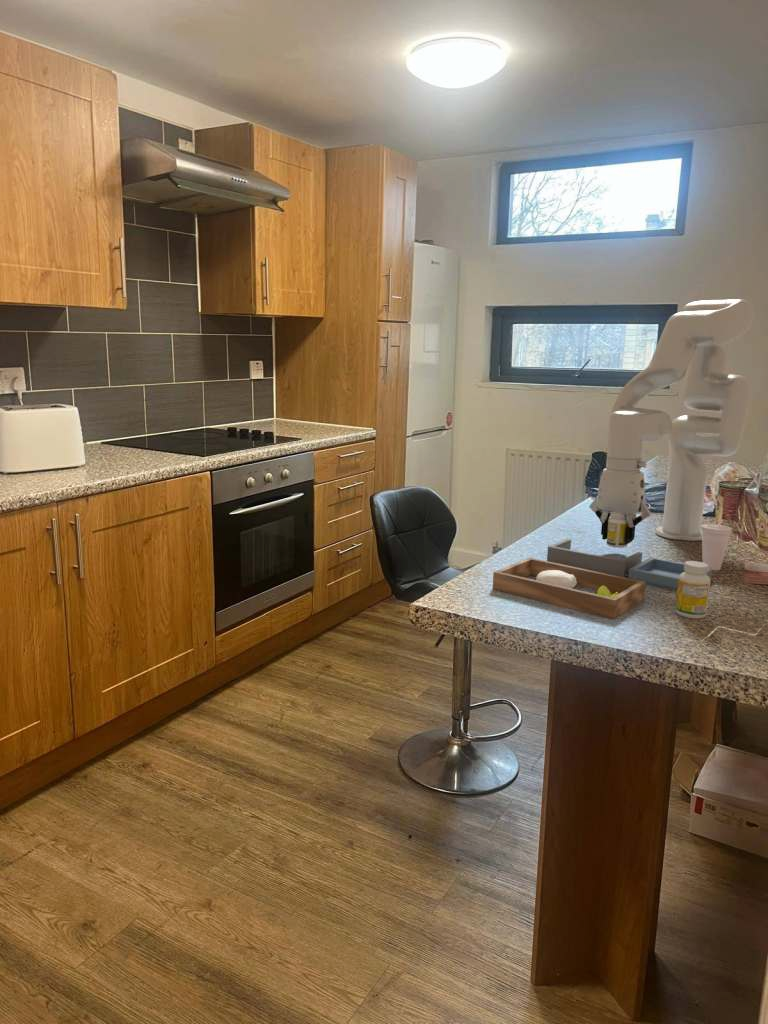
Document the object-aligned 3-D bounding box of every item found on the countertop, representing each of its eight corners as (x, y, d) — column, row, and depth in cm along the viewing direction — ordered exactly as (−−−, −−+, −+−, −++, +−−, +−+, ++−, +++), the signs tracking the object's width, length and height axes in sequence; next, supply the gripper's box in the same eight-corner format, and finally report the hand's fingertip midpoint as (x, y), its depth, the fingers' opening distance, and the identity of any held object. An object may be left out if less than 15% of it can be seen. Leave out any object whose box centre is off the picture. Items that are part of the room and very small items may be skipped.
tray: (649, 567, 164) (651, 557, 164) (710, 579, 156) (712, 568, 156) (628, 580, 154) (629, 569, 154) (691, 594, 146) (693, 582, 146)
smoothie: (730, 573, 161) (738, 511, 158) (699, 571, 163) (706, 509, 160) (723, 565, 167) (730, 505, 165) (693, 563, 169) (700, 504, 166)
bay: (566, 553, 175) (567, 538, 174) (640, 568, 164) (642, 552, 163) (546, 561, 167) (547, 546, 167) (623, 577, 156) (625, 561, 156)
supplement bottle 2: (700, 621, 131) (707, 569, 129) (670, 614, 134) (676, 563, 132) (710, 614, 135) (716, 563, 133) (680, 607, 138) (686, 558, 136)
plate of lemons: (583, 602, 141) (584, 588, 140) (597, 592, 147) (599, 579, 147) (624, 611, 136) (626, 597, 136) (638, 600, 143) (639, 587, 142)
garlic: (575, 586, 150) (576, 568, 149) (577, 596, 144) (578, 578, 143) (535, 583, 152) (536, 565, 151) (535, 593, 145) (536, 575, 144)
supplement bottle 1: (627, 543, 176) (630, 509, 174) (627, 548, 172) (630, 514, 170) (606, 542, 178) (609, 508, 176) (605, 547, 173) (608, 512, 172)
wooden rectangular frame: (528, 573, 158) (529, 557, 157) (644, 599, 142) (645, 581, 142) (492, 589, 146) (493, 572, 146) (613, 619, 131) (615, 600, 130)
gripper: (665, 466, 168) (658, 543, 172) (595, 459, 179) (589, 531, 183) (654, 470, 162) (647, 550, 167) (581, 462, 173) (576, 537, 177)
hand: (617, 539), depth 175 cm, fingers closed on supplement bottle 1, 4 cm apart
